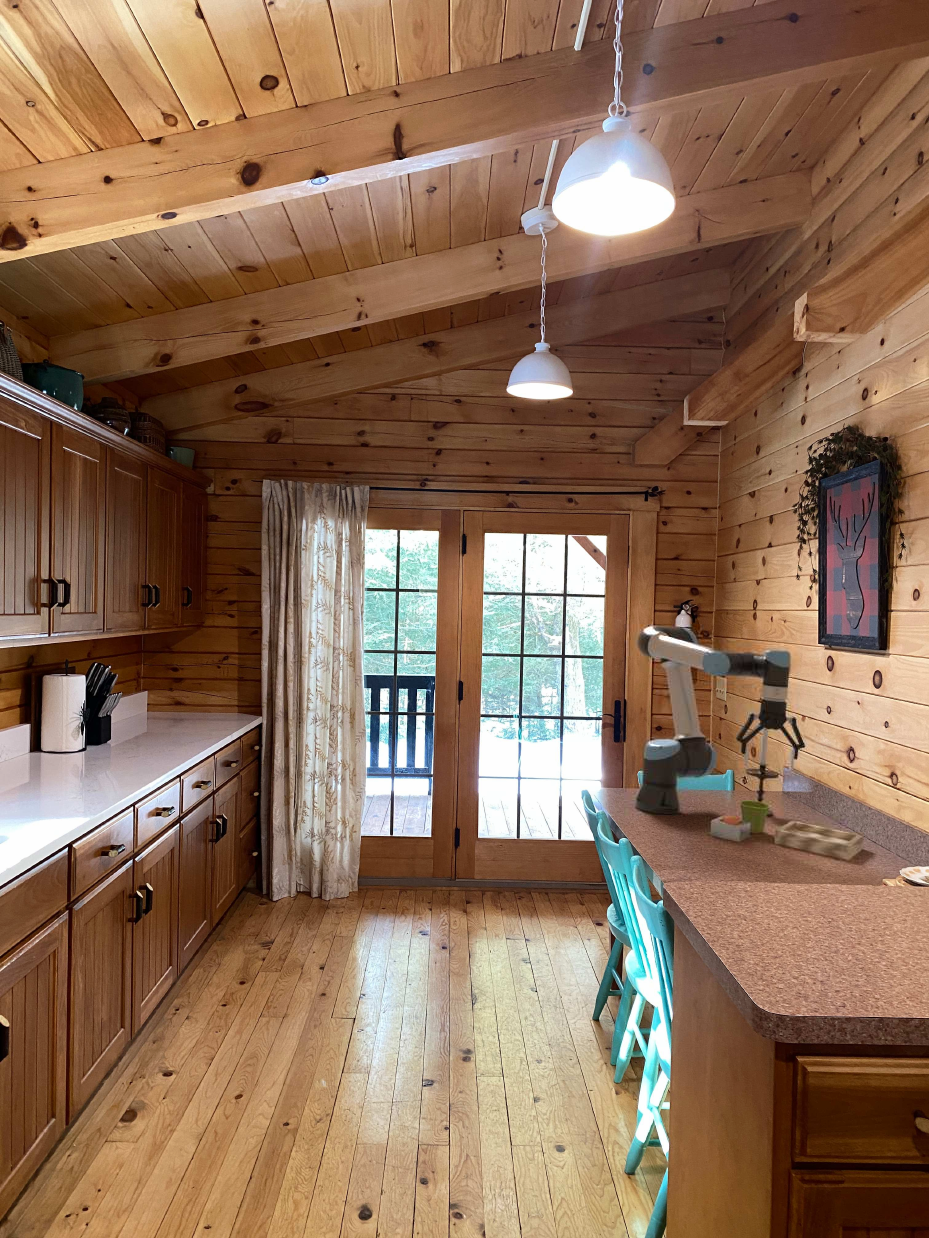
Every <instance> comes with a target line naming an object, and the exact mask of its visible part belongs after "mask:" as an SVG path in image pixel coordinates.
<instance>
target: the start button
mask: <svg viewBox="0 0 929 1238" xmlns="http://www.w3.org/2000/svg"><path fill="white" fill-rule="evenodd" d="M722 816H723V820H722V822H725V823H730V824H734V825H739V822H740V820H741V819H740V817H739V816H735V815H731V814H724V815H722Z"/></svg>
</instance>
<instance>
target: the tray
mask: <svg viewBox="0 0 929 1238" xmlns="http://www.w3.org/2000/svg"><path fill="white" fill-rule="evenodd" d="M774 844H777V845H782V846H786V847H790V848H793V849H794V848H795V849H799V850H803V851H807V852H811V853H815V854H819V855H824V856H828V857H834V858H838V859H843V860H845V861H849V860H852V858H854V856H856V855H857V854H858V853H859V852H861V851H863V849H864V835H863V834H862V835H861V834H858V833H857V834H856V833H852V832H848V831H842V830H838V829H834V828H828V827H825V826H824V827H823V826H819V825H815V824H809V823H805V822H800V821H797V820H796V821H795V820H791V821H790V822H788V823H786V824H783V825H782V826H781V827H778V828H777V829H775V834H774Z"/></svg>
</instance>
